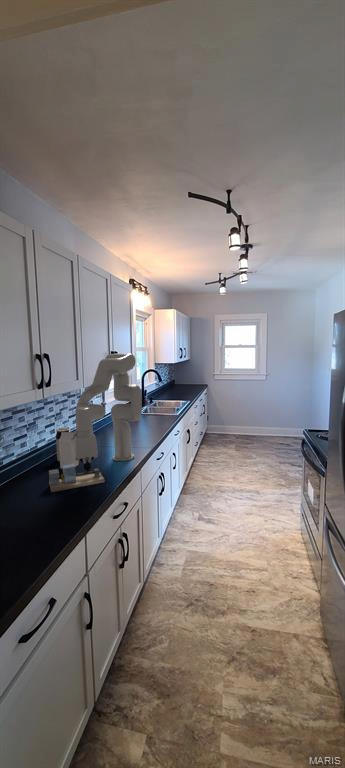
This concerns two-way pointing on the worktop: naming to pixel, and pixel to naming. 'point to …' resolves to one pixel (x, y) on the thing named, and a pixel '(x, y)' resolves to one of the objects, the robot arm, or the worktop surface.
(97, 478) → the slider mechanism
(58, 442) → the travel mug
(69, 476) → the sleeve
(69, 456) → the milk carton
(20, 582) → the worktop surface
